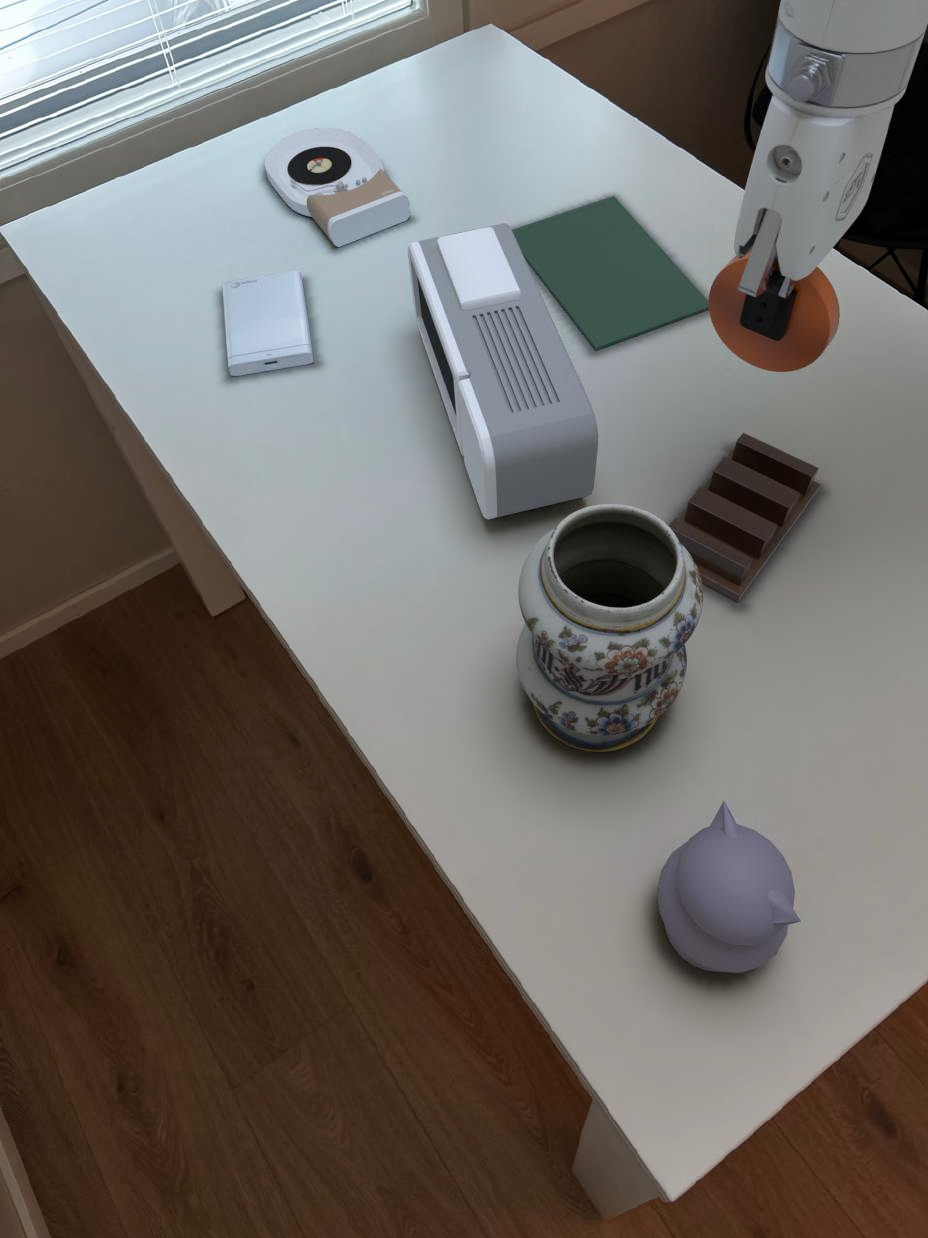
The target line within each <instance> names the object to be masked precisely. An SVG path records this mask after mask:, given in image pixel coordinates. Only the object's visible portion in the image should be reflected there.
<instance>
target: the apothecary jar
mask: <svg viewBox="0 0 928 1238" xmlns="http://www.w3.org/2000/svg"><path fill="white" fill-rule="evenodd" d="M517 590H518V591H517V595H518V596H517V597H518V605H519V609H520V612H521V616H522V618H523V621H524V624H523V627H522V629H521V631H520V634H519V637H518V640H517V643H516V644H517V645H516V652H515V653H516V655H515V656H516V657H515V659H516V669H517V674H518V678H519V681H520V682H521V684H522V687H523V690H524V691H525V693H526V695H527V697H528V699H529V700H530V701H531V702H532V704H533V708H534V711H535V714H536V716H537V718H538V720H539V722H540V723H541V725H542V726H543V728H545V730H546V731H547V732H548V733H549V734H550V735H551V736H553V737H554V738H555V739H557V740H558V741H560V742H562V743H563V744H565V745H567V746H568V747H571V748H573V749H577V750H581V751H586V752H592V753H593V752H595V753H606V752H613V751H617V750H620V749H624V748H626V747H629V746H631V745H633V744H635V743H637V742H638V741H639V740H641V739H642V738H643V737H644V736H646V734H647V733H649V732H650V730H651V729H652V728H654V725H655V724H656V723H657V721H658V719H659V718H660V717H661V716H662V715H663V714H664V713H666V711H668V709H669V708H670V707H671V706H672V705H673V704H674V702H675V700H676V699H677V697H678V696H679V694H680V692H681V690H682V687H683V685H684V682H685V678H686V674H687V664H688V659H687V657H688V656H687V655H688V654H687V649H686V643H687V642H688V641H689V639H690V638H691V636H693V633H694V632H695V630H696V629H697V627H698V624H699V621H700V618H701V616H702V612H703V605H704V587H703V583H702V581H701V577H700V574H699V571H698V568H697V566H696V564H695V562H694V560H693V558H692V557H691V555H690V554H689V552H688V551H687V550H686V548H685V547H684V546H683V545H682V544H681V543H680V542H679V540H678V539H677V537H676V535H675V534H674V532H673V531H672V530H671V528H670V527H669V525H668V523H666V522H665V521H663V520H662V519H661V518H660V517H659V516H657V515H655V514H653V513H651V512H649V511H648V510H644V509H642V508H640V507H636V506H633V505H627V504H619V503H603V504H602V503H600V504H594V505H589V506H585V507H583V508H580V509H578V510H576V511H573V512H571V513H570V514H568V515H567V516H565V518H563V519H561V521H560V522H559V523H558V524H557V526H555V527H554V528H552V529H550V530H549V531H548V532H547V533H546V534H544V535H543V536H542V537H541V538H540V539H539V540H538V541H537V542H536V543H535V544H534V545H533V547H532V548H531V550H530V551H529V553H528V555H527V556H526V558H525V559H524V562H523V565H522V568H521V570H520V575H519V578H518V589H517Z"/></svg>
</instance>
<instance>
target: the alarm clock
mask: <svg viewBox="0 0 928 1238" xmlns="http://www.w3.org/2000/svg"><path fill="white" fill-rule="evenodd" d="M512 230H513V229H512V228H511V226H510V224H508V223H507V222H506V223H505V222H504V223H499V224H495V225H490V226H484V227H480V228H476V229H470V230H465V231H461V232H460V231H459V232H456V233H452V234H446V235H442V236H437V237H433V238H427V239H422V240H417V241H412V242H409V243H408V244H407V260H408V268H409V276H410V286H411V293H412V302H413V309H414V314H415V319H416V323H417V328H418V331H419V334H420V337H421V340H422V342H423V345H424V349H425V351H426V355H427V358H428V360H429V363H430V367H431V369H432V372H433V375H434V378H435V381H436V384H437V387H438V390H439V393H440V396H441V398H442V401H443V404H444V408H445V411H446V413H447V415H448V416H447V417H448V419H449V422H450V425H451V428H452V431H453V434H454V436H455V439H456V443H457V446H458V449H459V451H460V455H461V456H463V464H464V466H465V469H466V472H467V475H468V477H469V480H470V485H471V487H472V489H473V493H474V495H475V499H476V501H477V504H478V507H479V510H480V512H481V515H482V516H483V518H484V519H486V520H491V519H495V518H496V519H497V518H500V517H503V516H509V515H513V514H518V513H522V512H526V511H529V510H534V509H539V508H543V507H547V506H551V505H555V504H559V503H564V502H569V501H572V500H577V499H581V498H585V497H588V496H591V495H592V493H593V491H594V489H595V480H596V471H597V470H596V469H597V461H598V460H597V459H598V449H599V431H598V424H597V419H596V415H595V411H594V408H593V406H592V403H591V401H590V399H589V397H588V395H587V393H586V391H585V389H584V386H583V384H582V382H581V379H580V376H579V375H578V372H577V370H576V369H575V366H574V365H573V361H572V360H571V357H570V354H569V352H568V350H567V349H566V346H565V344H564V342H563V340H562V337H561V335H560V333H559V331H558V329H557V326H556V324H555V322H554V320H553V318H552V316H551V313H550V311H549V309H548V307H547V305H546V302H545V300H544V298H543V296H542V293H541V291H540V289H539V287H538V285H537V282H536V280H535V278H534V276H533V273H532V272H531V271H532V270H531V269H530V267H529V264H528V262H527V260H526V259H525V258H524V256H523V254H522V251H521V249H520V247H519V245H518V243H517V240H516V238H515V236H514V234H513V232H512Z"/></svg>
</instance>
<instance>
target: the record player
mask: <svg viewBox="0 0 928 1238" xmlns="http://www.w3.org/2000/svg"><path fill="white" fill-rule="evenodd" d="M264 168H265V172H266V175H267V179H268V181H269V183H270V185H271V186H272V187H273V189H275V191H276V192H277V194H278V195H279V197H281V199H282V200H283V201H284V202H285V203H286V205H288V207H289V208H290V209H291V210H293V211H294V212H296V213H297V214H300V215H303V216H306V217H311V218H312V219H313V220H314V221H315V222H316V223H317V225H318V226H319V227H320V229H321V230H322V231H323V232H324V233H325V235H326V236H327V237H328V238H329V240H330V241H331V242H332V243H333V245H334V246H335V247H336V248H337V247H338V248H341V247H344V246H347V245H349V244H351V243H353V242H356V241H358V240H361V239H363V238H366V237H368V236H371V235H373V234H376V233H378V232H381V231H383V230H386V229H388V228H391V227H393V226H396V225H399V224H401V223H403V222H406V221H407V220H408V219H409V217H410V213H411V205H410V200H409V198H408V196H407V195H406V194H405V193H404V192H403V191H402V189H400V188H399V186H398V185H397V184H396V183H395V182H394V181H393V180H392V179H391V178H390V176H388V174H386V172H385V171H384V166H383V163H382V161H381V160H380V159H379V158H378V157H377V156H376V154H375V153H374V151H372V150H371V148H370V147H369V146H368V145H367V144H366V143H365V142H364V141H363V140H362V139H361V138H360V137H358V136H357V135H356V134H354V133H352V132H350V131H347V130H345V129H341V128H334V127H316V128H315V127H314V128H309V129H308V128H307V129H303V130H299V131H297V132H294V133H291V134H289V135H287V136H285V137H284V138H282V139H280V140H278V141H277V142H275V144H274V145H273V146H271V148H270V149H269V150H268V152H267V153H266V156H265V159H264Z"/></svg>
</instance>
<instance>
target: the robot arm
mask: <svg viewBox="0 0 928 1238" xmlns="http://www.w3.org/2000/svg"><path fill="white" fill-rule="evenodd" d="M927 29H928V0H780V3H779V9H778V11H777V17H776V21H775V27H774V31H773V35H772V40H771V45H770V50H769V55H768V60H767V66H766V69H765V75H764V77H765V83H766V86H767V89H769V90H770V92H771V94H772V96H771V99H770V101H769V105H768V107H767V111H766V115H765V117H764V121H763V124H762V127H761V129H760V134H759V137H758V141H757V144H756V147H755V150H754V155H753V158H752V161H751V165H750V169H749V172H748V177H747V181H746V183H745V187H744V192H743V195H742V199H741V200H742V201H741V204H740V209H739V213H738V217H737V218H738V219H737V223H736V228H735V234H734V235H735V236H734V241H733V250H734V254H735V256H737V258H738V259H741V258H743V257H744V256H745V255H746V254H747V253H748V252H749V251H750V250H751V249H752V250H751V253H750V256H749V259H748V261H747V264H746V267H745V270H744V273H743V275H742V278H741V281H740V284H739V287H738V290H739V291H741V292H743V293H746V296H745V301H744V305H743V309H742V313H741V317H740V325H741V326H742V327H744V328H746V329H749V330H751V331H754V332H756V333H758V334H761V335H763V336H765V337H768V338H770V339H772V340H775V341H780V340H781V339H782V338H783V337H784V335H785V333H786V329H787V326H788V323H789V319H790V316H791V312H792V309H793V306H794V302H795V299H796V295H797V292H798V291H796V290H793V287H794V284H795V281H798V280H801V279H803V278H805V277H806V276H808V275H809V274H810V273H811V272H812V271H813V270H814V269H815V268H816V267H818V266H819V265H820V264H821V263H822V261H823V260H824V259H825V258H826V257H827V256H828V254H830V252H831V251H832V249H833V248H834V247H835V246H836V245H837V243H838V242H839V241H840V240H841V239H842V237H843V236H844V235H845V233H846V232H847V231H848V230H849V229H850V227H851V226H852V225H853V224H854V222H855V221H856V220H857V219H858V217H859V216H860V215H861V213H862V211H863V210H864V207H865V206H866V205H867V201H868V199H869V196H870V193H871V190H872V186H873V183H874V180H875V177H876V173H877V169H878V166H879V163H880V160H881V156H882V151H883V149H884V144H885V141H886V138H887V135H888V130H889V128H890V123H891V121H892V120H891V119H892V115H893V112H894V108H895V105H896V104H897V103H899V101H900V100H901V99H902V98H903V96H904V95H905V93H906V90H907V87H908V84H909V81H910V78H911V75H912V72H913V70H914V67H915V63H916V60H917V57H918V55H919V52H920V49H921V45H922V43H923V40H924V38H925V34H926V30H927ZM773 262H774V263H777V264H779V267H780V271H778V270H776V269H773V268H771V267H772V264H773Z"/></svg>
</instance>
